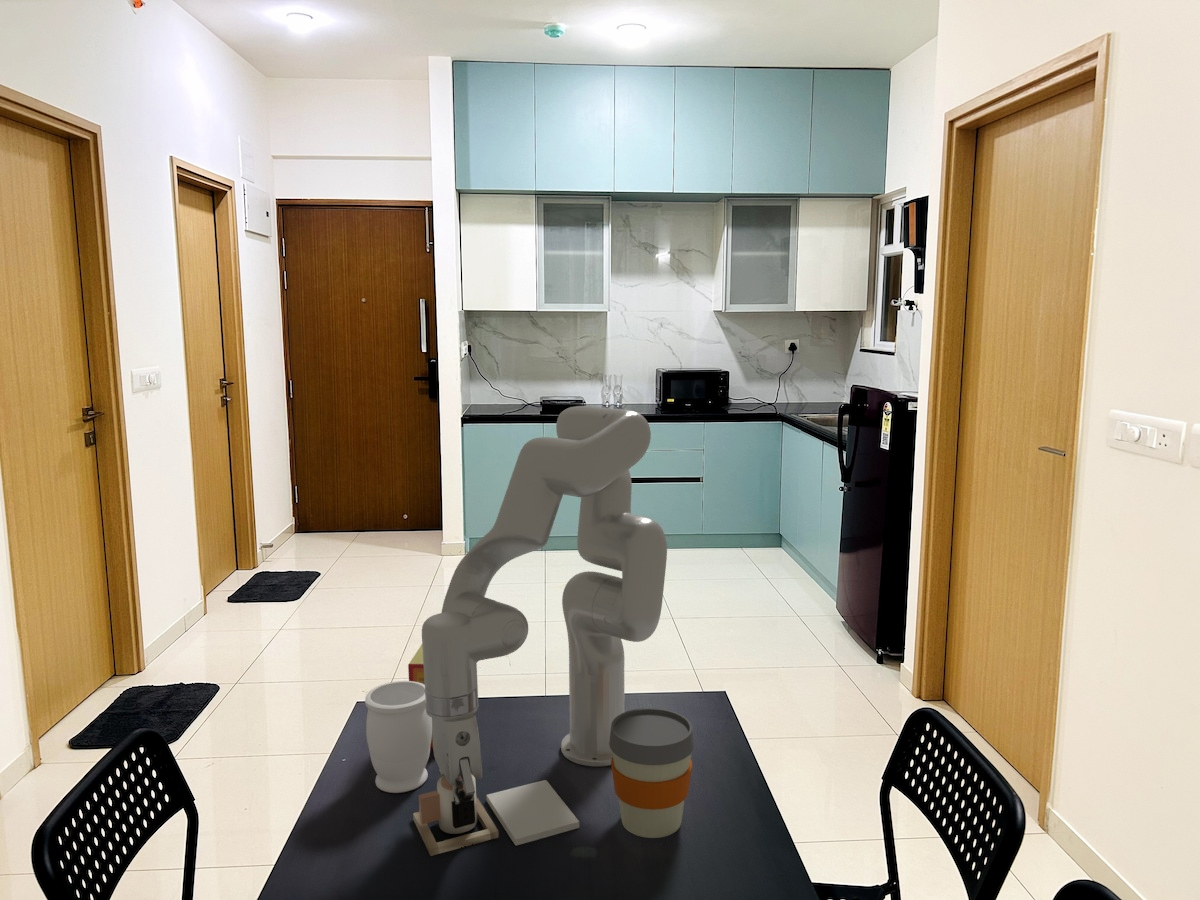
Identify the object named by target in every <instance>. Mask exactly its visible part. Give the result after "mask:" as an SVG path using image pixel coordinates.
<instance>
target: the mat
mask: <svg viewBox="0 0 1200 900" xmlns="http://www.w3.org/2000/svg"><path fill="white" fill-rule="evenodd" d="M486 802H487V804H488V806H489V807H490V809H491V810H492V811H493V814H494V815H495V816H496V818H497V819H498V821H499V822H500V824H501V825H502V827H503V829H504V830H505V831H506V833H507V835H508V837H509V838H510V840H511V842H513V843H512V844H514V845H515V846H519V845H523V844H526V843H531V842H534V841H538V840H541V839H544V838H548V837H551V836H552V837H553V836H555V835H558V834H562V833H566V832H569V831H573V830H576V829H580V821H579V819H578V818H577V817H576V816H575V814H574V813H573V812H572V810H571V809H570V807H568V805H566V803H565V801H564V800H563V799H562V798H561V797H560V796H559V795H558V793H557V792H556V790H555V789H554V787H552V785H551V784H550V783H549V782H548V780H547V779H543V780H541V781H540V780H539V781H536V782H531V783H528V784H524V785H521V786H520V785H519V786H515V787H512V788H509V789H503V790H500V791H495V792H493V793H489V794H486Z"/></svg>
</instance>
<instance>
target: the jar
mask: <svg viewBox="0 0 1200 900" xmlns="http://www.w3.org/2000/svg"><path fill="white" fill-rule="evenodd" d="M364 705H365V706H366V708H367V709H368V710H367V715H366V724H365V725H366V726H365V729H366V730H365V732H366V736H365V737H366V742H367V747H368V749H369V750H368V751H369V754H370V756H369V757H370V761H371V764H372V767H373V769H374V771H375V773H376V774H377V775H376V776H375V781H374V782H375V786H376V787H377V789H379V790H380V791H383V792H386V793H390V794H391V793H392V794H399V793H406V792H410V791H414V790H416V789H418V788H419V787H421V786H423V785H424V783H425V782H427V779H428V777H429V776H428V773H429V772H428V771H427V769H426V766H427V764H428V762H429V757H430V754H431V750H430V745H431V738H432V717H430V716H429V715H427V713H426V701H425V684H423V683H420V682H415V681H409V680H398V681H392V682H386V683H383V684H379V685H378V686H375V687H373V688H371V689H370V690H369V691H368V692H367V693H365V696H364Z"/></svg>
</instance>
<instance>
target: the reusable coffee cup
mask: <svg viewBox="0 0 1200 900" xmlns="http://www.w3.org/2000/svg"><path fill="white" fill-rule="evenodd" d="M609 745H610V749H611V750H612V753H613V757H612V759H611V765H610V766H611V772H612V778H613V779H612V781H613V787H614V792H615V795H616V796H617V798H618V803H619V809H620V811H619V812H620V818H621V824H622V825H623V827H624V829H626V831H627V832H630V833H631V834H633V835H635V836H637V837H640V838H641V837H642V838H648V839H649V838H650V839H659V838H665V837H668V836H670V835H673V834H674V833H675V832H677V831H679V829H680V827H681V826H682V821H683V820H682V819H683V814H684V807H685V806H684V805H685V799H686V798H687V797H688V794H689V792H690V785H691V778H692V771H693V761H692V759H691V758H692V753H693V751H694V750H695V739H694V727H693V725H692V721H690V719H688V718H687V717H686V716H684V714H681V713H679V712H676V711H673V710H669V709H664V708H656V707H654V708H653V707H642V708H641V707H640V708H635V709H631V710H627V711H624V713H622V714H620V715H618V716H617V717H616V718H615V719H614V720H613V721H612V724H611V731H610V741H609Z"/></svg>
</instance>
